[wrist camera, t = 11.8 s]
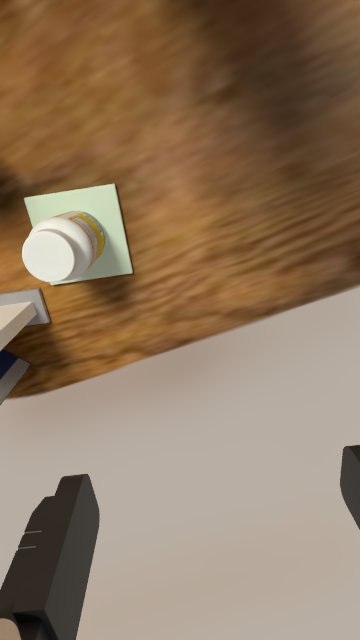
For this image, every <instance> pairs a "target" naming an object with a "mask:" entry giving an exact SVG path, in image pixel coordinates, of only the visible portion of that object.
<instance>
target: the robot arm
mask: <svg viewBox="0 0 360 640" xmlns="http://www.w3.org/2000/svg"><path fill="white" fill-rule="evenodd" d="M340 486H341V492H342V495H343V498H344V501H345V503H346V505H347V507H348V509H349V511H350V512H351V514H352V516H353V518H354V520H355V522H356V524H357V525H358V527H359V529H360V445H355V446H346V447H344V449H343V456H342V466H341V478H340ZM98 529H99V508H98V504H97V500H96V497H95V494H94V490H93V487H92V484H91V480H90V477H89V475H88V474H81V475H73V476H64V477H62V478H61V480H60V482H59V485H58V488H57V491H56V493H55V496H50V497H45V498H44V499H43V500H42V502H41V503H40V504H39V505H38V507H37V508H36V509H35V510H34V511H33V513H32V515H31V517H30V519H29V522H28V524H27V527H26V529H25V534H24V535H23V536H22V539H21V541H20V544H19V546H18V551H16V553H15V556H14V558H13V560H12V563H11V565H10V568H9V570H8V573H7V575H6V577H5V580H4V582H3V585H2V587H1V590H0V640H76V636H77V631H78V626H79V621H80V617H81V611H82V607H83V602H84V597H85V592H86V588H87V583H88V578H89V573H90V568H91V563H92V558H93V554H94V549H95V544H96V539H97V534H98Z"/></svg>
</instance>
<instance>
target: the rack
mask: <svg viewBox="0 0 360 640" xmlns="http://www.w3.org/2000/svg"><path fill="white" fill-rule="evenodd" d="M49 322H50V318H49V314H48V311H47V308H46V305H45V302H44V299H43V296H42V293H41V290H40V288H34V289H28V290H21V291H14V292H7V293H1V294H0V351H1V350H2V349H3V348H4V347H5V346H6V345H7V344H8V343H9V342H10V341H11V340H12V339H13V338H14V337H15V336H16V335H17V334H18V333H19V331H20V330H21V329H22V328H23V327H24V326H29V325H36V324H43V323H49Z"/></svg>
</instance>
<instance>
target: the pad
mask: <svg viewBox="0 0 360 640" xmlns="http://www.w3.org/2000/svg"><path fill="white" fill-rule="evenodd" d="M24 200H25V204H26V207H27V210H28V213H29V216H30V220H31V223H32V226H33V228H34V227H35V226H36V225H37V224H38V223H39V222H41V221H43V220H45V219H47V218H51V217H54V216H57V215H60V214H63V213H67V212H70V211H83V212H86V213H89V214H91V215H92V216H94V217H95V218H96V219H97V220H98V221H99V222H100V224H101V225H102V227H103V229H104V232H105V236H106V244H105V248H104V251H103V252H102V254H101V255H100V256H99V258H98V259H97V260H96V261H95V262H94V263H93V264H92V265H91V266H90V267H89V268H88V269H87V270H86V271H85V272H84V273H83V274H82V275H81V276H79V277H77V278H75V279H72V280H68V281H59V282H50V285H55V284H62V283H69V282H76V281H83V280H89V279H96V278H103V277H110V276H116V275H123V274H130V273H133V269H132V264H131V259H130V254H129V250H128V245H127V240H126V235H125V230H124V225H123V220H122V215H121V210H120V205H119V200H118V196H117V191H116V186H115V184H110V185H103V186H97V187H90V188H84V189H78V190H71V191H65V192H59V193H52V194H46V195H39V196H33V197H27V198H24Z"/></svg>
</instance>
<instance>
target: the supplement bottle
mask: <svg viewBox="0 0 360 640" xmlns="http://www.w3.org/2000/svg"><path fill="white" fill-rule="evenodd" d="M105 244H106V236H105V232H104V229H103V227H102V225H101V224H100V222H99V221H98V220H97V219H96V218H95V217H94V216H92V215H91V214H89V213H86V212H83V211H70V212H67V213H63V214H60V215H57V216H54V217H51V218H47V219H45V220H43V221H41V222H39V223H38V224H37V225H36V226H35V227H34V228H33V229H32V231H31V233H30V235H29V237H28V238H27V239H26V241H25V243H24V245H23V249H22V257H23V261H24V264H25V266H26V268H27V269H28V271H29V272H30V273H31V274H32V275H33V276H35V277H36V278H38V279H40V280H42V281H45V282H59V281H68V280H72V279H75V278H77V277H79V276H81V275H82V274H83V273H84V272H85V271H86V270H87V269H88V268H89V267H90V266H91V265H92V264H93V263H94V262H95V261H96V260H97V259H98V258H99V256H100V255H101V254H102V252H103V251H104V248H105Z"/></svg>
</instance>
